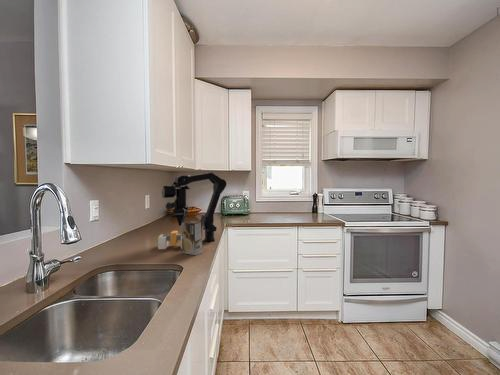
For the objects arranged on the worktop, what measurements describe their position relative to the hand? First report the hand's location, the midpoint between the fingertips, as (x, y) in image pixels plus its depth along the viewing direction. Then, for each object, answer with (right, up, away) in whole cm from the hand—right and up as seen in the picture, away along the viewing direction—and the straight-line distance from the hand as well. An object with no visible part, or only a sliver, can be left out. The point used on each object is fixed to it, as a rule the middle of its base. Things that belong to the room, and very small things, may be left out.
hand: (181, 224), depth 149 cm
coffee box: (+10, -13, -15) cm, 22 cm away
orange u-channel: (-2, -11, -5) cm, 12 cm away
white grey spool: (-2, -12, -5) cm, 14 cm away
